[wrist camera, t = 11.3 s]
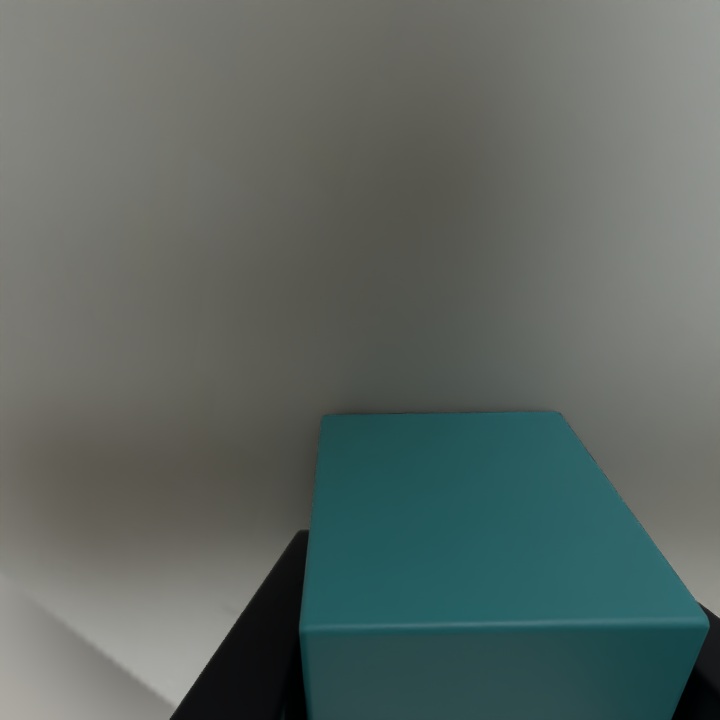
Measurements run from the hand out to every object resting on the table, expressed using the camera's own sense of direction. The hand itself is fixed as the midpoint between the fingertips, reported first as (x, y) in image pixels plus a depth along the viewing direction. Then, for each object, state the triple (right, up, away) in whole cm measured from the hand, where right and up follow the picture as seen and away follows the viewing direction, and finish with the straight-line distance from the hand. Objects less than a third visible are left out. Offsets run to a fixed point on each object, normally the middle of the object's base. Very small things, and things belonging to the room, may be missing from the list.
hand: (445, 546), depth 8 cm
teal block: (0, 0, +1) cm, 1 cm away
